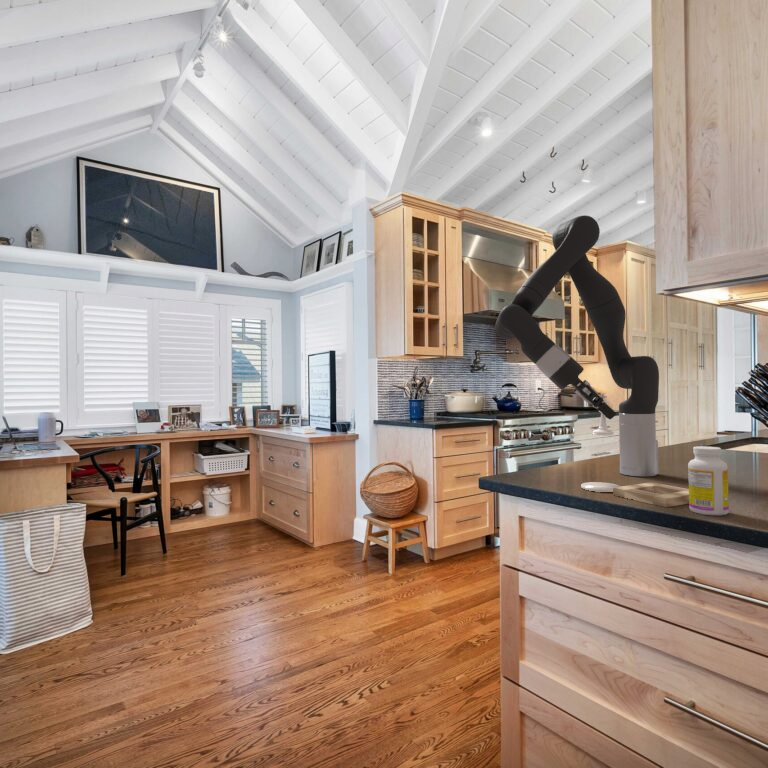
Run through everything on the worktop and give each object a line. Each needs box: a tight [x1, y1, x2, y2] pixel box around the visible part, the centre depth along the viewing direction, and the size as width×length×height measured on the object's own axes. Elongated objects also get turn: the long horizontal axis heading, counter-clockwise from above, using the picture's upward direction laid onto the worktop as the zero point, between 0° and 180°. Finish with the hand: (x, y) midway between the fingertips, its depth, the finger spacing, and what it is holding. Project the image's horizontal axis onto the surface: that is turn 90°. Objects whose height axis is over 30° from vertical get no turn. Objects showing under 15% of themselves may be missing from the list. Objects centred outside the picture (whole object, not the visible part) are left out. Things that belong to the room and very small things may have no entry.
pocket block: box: [612, 481, 689, 508], centre depth 113 cm, size 13×13×2 cm
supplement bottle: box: [687, 445, 730, 517], centre depth 100 cm, size 7×7×13 cm
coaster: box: [580, 481, 621, 493], centre depth 124 cm, size 9×9×1 cm
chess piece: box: [592, 392, 615, 436], centre depth 123 cm, size 5×5×10 cm
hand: (612, 416), depth 122 cm, fingers closed on chess piece
